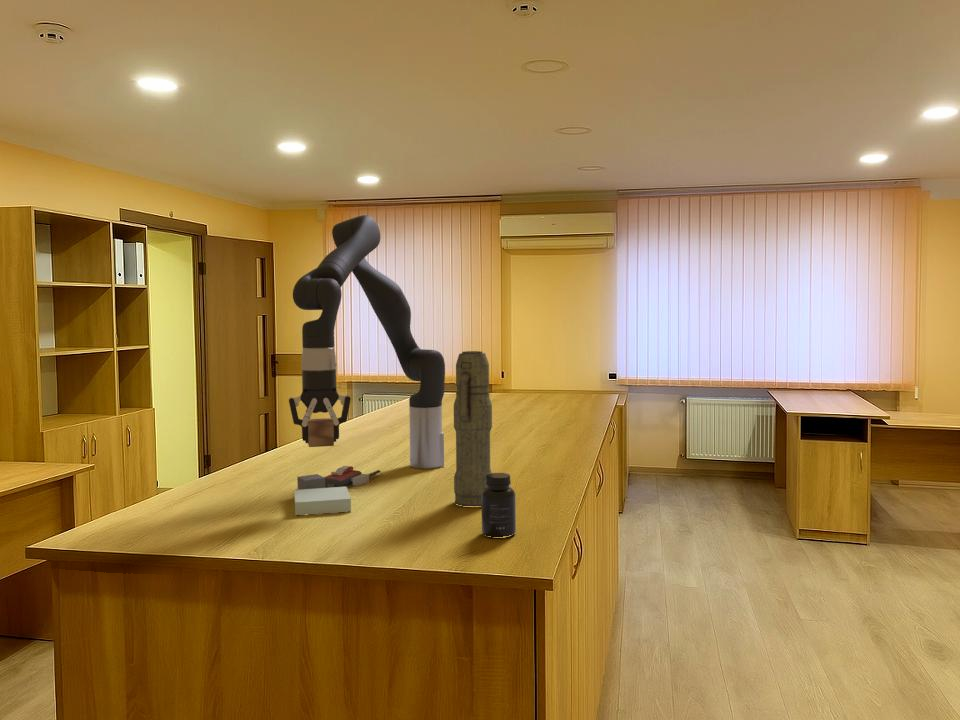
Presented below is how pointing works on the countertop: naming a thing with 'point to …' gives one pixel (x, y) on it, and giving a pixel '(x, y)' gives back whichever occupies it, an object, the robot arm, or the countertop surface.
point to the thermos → (472, 427)
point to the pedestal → (322, 500)
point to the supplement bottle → (498, 506)
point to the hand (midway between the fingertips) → (320, 441)
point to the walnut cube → (320, 432)
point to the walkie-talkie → (347, 477)
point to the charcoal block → (310, 482)
